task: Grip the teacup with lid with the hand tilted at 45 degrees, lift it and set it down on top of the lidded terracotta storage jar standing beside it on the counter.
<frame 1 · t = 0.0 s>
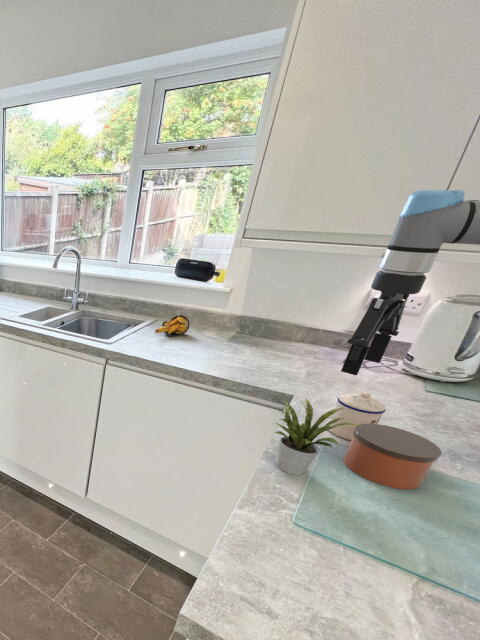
hand: (360, 367, 94), 20 cm above the table, tool pointing down, fingers open, 13 cm apart
house plant: (296, 469, 93), on the table
storage jar: (380, 470, 93), on the table
fried shrimp in bowl: (169, 335, 180), on the table
teacup with lid: (349, 432, 108), on the table
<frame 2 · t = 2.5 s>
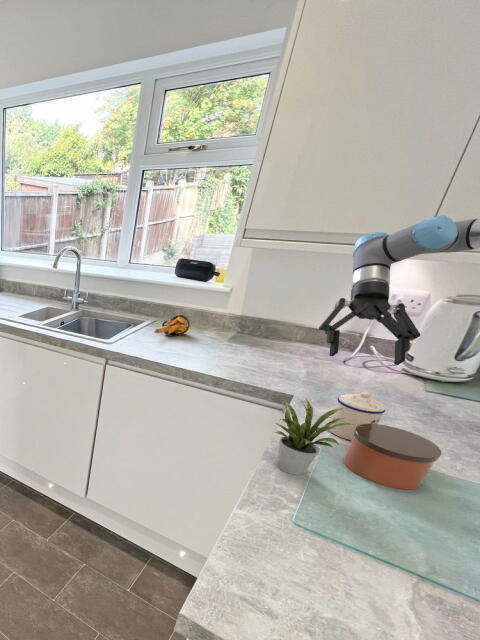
hand: (365, 358, 107), 17 cm above the table, tool tilted 40°, fingers open, 13 cm apart
nothing on the table moved.
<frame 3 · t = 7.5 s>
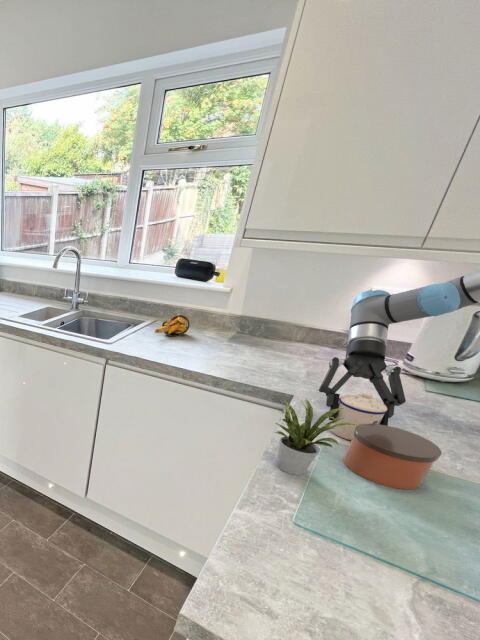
hand: (357, 423, 104), 4 cm above the table, tool tilted 45°, fingers closed on teacup with lid, 9 cm apart
teacup with lid: (350, 432, 108), on the table, touching gripper
everything else where it was.
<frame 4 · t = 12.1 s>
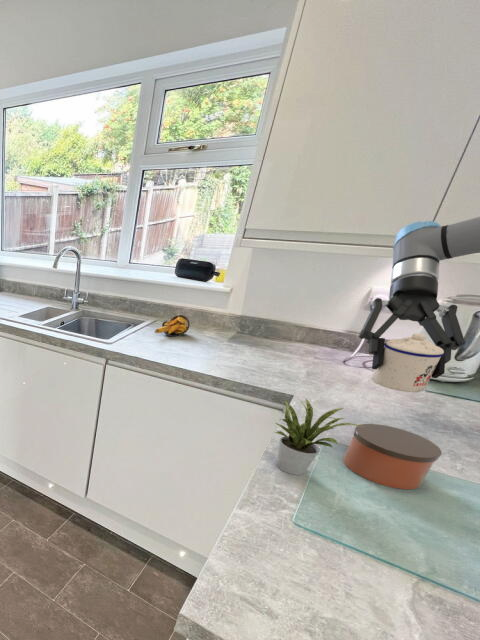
hand: (406, 370, 89), 22 cm above the table, tool tilted 45°, fingers closed on teacup with lid, 9 cm apart
teacup with lid: (397, 383, 93), point 18 cm above the table, touching gripper
everything else where it was.
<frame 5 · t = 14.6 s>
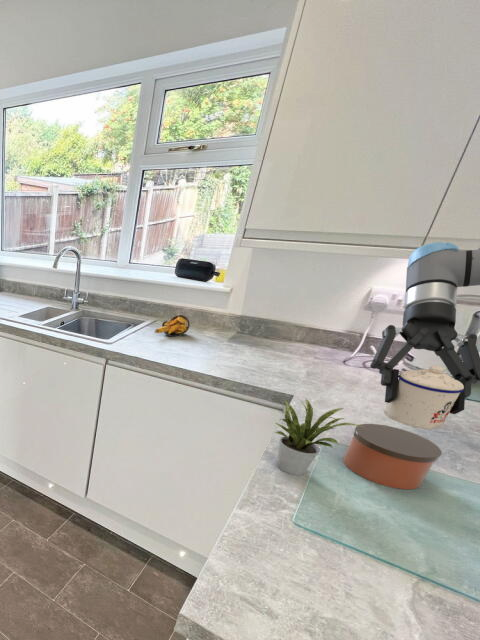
hand: (422, 405, 83), 18 cm above the table, tool tilted 45°, fingers closed on teacup with lid, 9 cm apart
teacup with lid: (411, 417, 87), point 14 cm above the table, touching gripper
everything else where it was.
when the fingers open (12 cm above the table, at t = 16.7 s): teacup with lid stays where it is, resting on storage jar.
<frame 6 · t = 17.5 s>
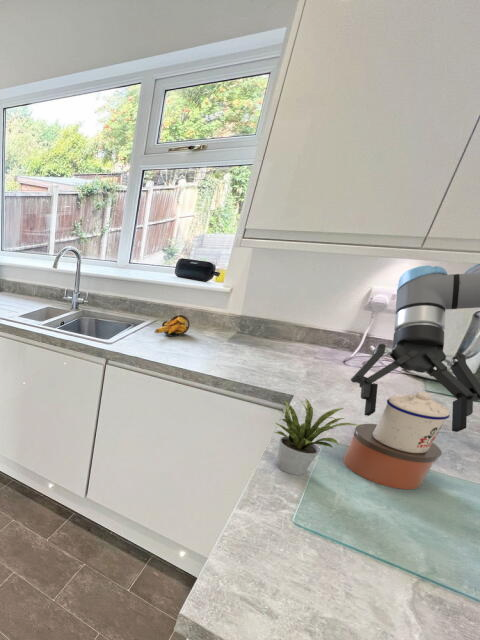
hand: (412, 421, 85), 14 cm above the table, tool tilted 45°, fingers open, 13 cm apart
teacup with lid: (399, 441, 89), point 8 cm above the table, touching storage jar
everything else where it was.
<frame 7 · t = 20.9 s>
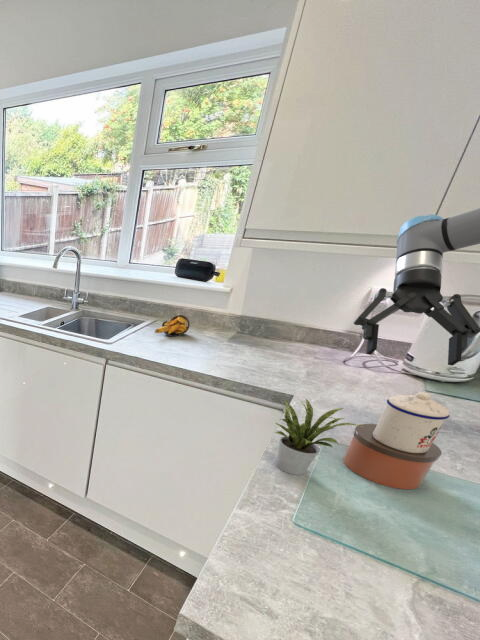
hand: (411, 357, 91), 24 cm above the table, tool tilted 45°, fingers open, 13 cm apart
nothing on the table moved.
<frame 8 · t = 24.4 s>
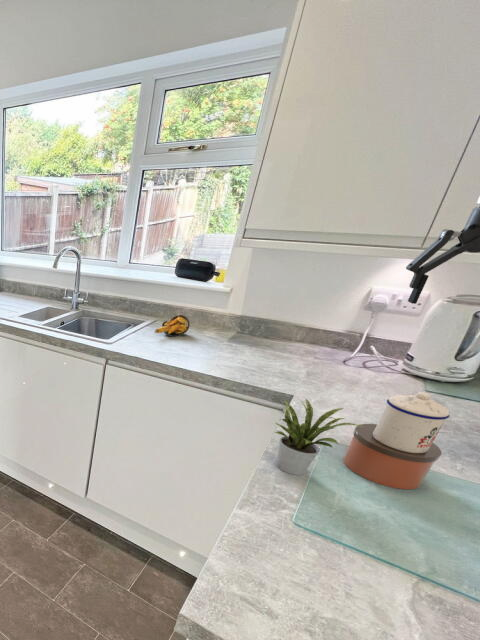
hand: (451, 306, 96), 33 cm above the table, tool pointing down, fingers open, 13 cm apart
nothing on the table moved.
at the end: teacup with lid 0.6 cm off-centre on the storage jar, point 8.0 cm above the storage jar's base; teacup with lid tilted 0°; the gripper is holding nothing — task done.
